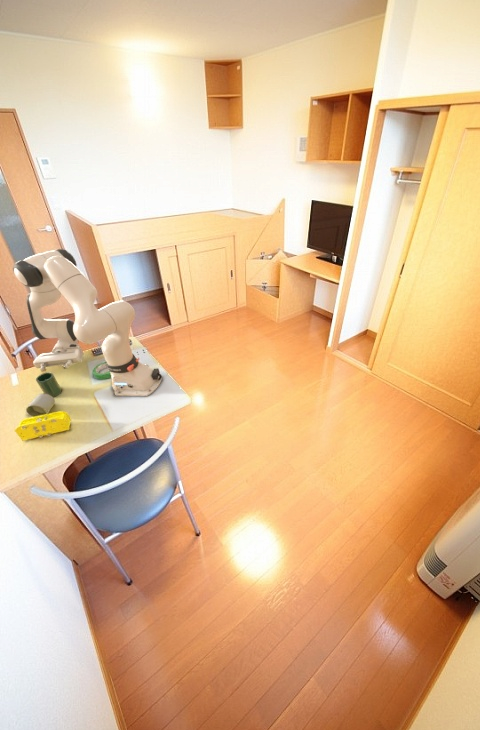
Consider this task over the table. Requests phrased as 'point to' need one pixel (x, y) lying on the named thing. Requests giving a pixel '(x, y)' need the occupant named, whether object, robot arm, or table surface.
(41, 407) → the ceramic mug
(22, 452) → the table surface
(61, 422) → the yellow toy chassis
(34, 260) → the robot arm
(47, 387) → the green cup
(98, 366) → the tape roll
